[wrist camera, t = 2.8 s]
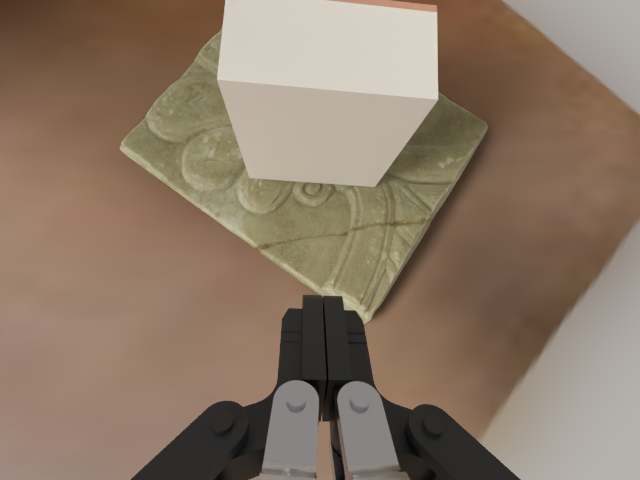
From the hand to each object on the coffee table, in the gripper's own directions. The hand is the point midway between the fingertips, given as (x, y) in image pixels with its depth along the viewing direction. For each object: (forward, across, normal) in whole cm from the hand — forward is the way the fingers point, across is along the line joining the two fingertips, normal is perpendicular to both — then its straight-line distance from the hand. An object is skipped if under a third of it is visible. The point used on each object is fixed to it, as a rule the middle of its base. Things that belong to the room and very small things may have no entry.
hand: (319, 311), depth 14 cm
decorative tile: (+17, 0, 0) cm, 17 cm away
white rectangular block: (+12, 0, -2) cm, 13 cm away
